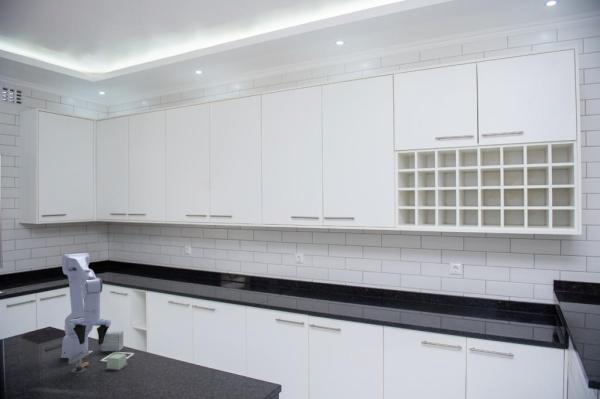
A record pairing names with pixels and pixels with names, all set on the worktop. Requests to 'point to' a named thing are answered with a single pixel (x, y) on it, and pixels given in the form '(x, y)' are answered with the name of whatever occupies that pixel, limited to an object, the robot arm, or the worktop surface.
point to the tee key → (79, 360)
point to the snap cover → (116, 361)
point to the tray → (118, 353)
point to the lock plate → (85, 369)
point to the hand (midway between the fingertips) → (91, 343)
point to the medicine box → (113, 341)
